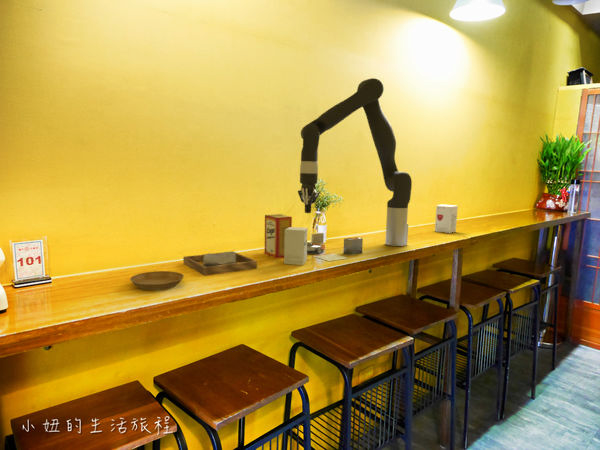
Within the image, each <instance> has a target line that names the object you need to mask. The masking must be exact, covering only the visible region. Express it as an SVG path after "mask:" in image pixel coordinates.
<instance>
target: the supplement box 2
mask: <svg viewBox="0 0 600 450" xmlns="http://www.w3.org/2000/svg"><path fill="white" fill-rule="evenodd" d="M458 207H459V206H458V205H453V204H443V203H442V204H437V205H436V207H435V208H436V210H435V211H436V212H435V223H434V224H435V225H434V232H435V231H436V232H437V233H442V232H445V233H444V234H453V233H457V232H456V231H457V220H458V219H457V218H458ZM436 232H435V233H436ZM452 232H453V233H452Z"/></svg>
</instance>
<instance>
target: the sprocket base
mask: <svg viewBox="0 0 600 450" xmlns="http://www.w3.org/2000/svg"><path fill="white" fill-rule="evenodd" d="M324 252H325V250H321V252H320V253H317V252H312V253H308V252H307V255H322V254H324Z"/></svg>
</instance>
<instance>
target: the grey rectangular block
mask: <svg viewBox="0 0 600 450" xmlns="http://www.w3.org/2000/svg"><path fill="white" fill-rule="evenodd" d="M363 243H364V242H363V237H358V236H357V237H354V236H353V237H347V238H344V239H343V251H342V253H343V255H347V256H351V255H357V254H363V246H364V245H363Z"/></svg>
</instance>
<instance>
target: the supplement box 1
mask: <svg viewBox="0 0 600 450" xmlns="http://www.w3.org/2000/svg"><path fill="white" fill-rule="evenodd" d="M308 230H309V229H308V227H295V226H292V227H289V228H287V229H286V230H285V239H284V258H283V265H284V264H285V265H296V266H303V265H304V264H305V263H306V262H307V261H308V260H307V258H308V254H307V242H308Z"/></svg>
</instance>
